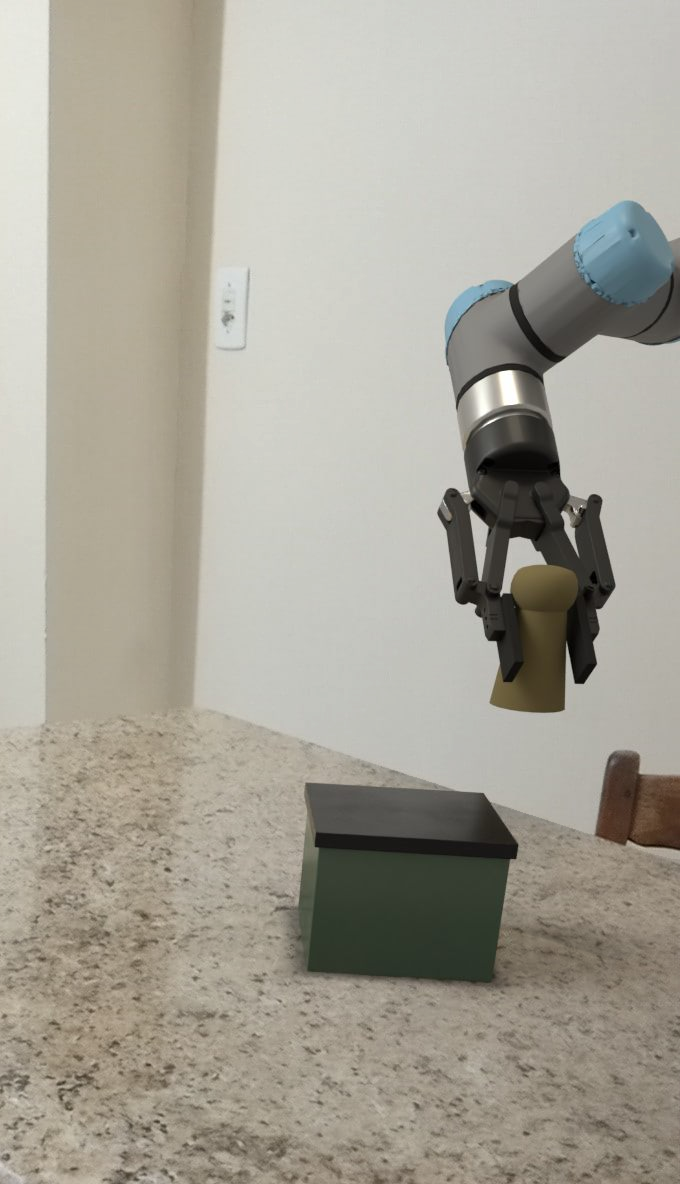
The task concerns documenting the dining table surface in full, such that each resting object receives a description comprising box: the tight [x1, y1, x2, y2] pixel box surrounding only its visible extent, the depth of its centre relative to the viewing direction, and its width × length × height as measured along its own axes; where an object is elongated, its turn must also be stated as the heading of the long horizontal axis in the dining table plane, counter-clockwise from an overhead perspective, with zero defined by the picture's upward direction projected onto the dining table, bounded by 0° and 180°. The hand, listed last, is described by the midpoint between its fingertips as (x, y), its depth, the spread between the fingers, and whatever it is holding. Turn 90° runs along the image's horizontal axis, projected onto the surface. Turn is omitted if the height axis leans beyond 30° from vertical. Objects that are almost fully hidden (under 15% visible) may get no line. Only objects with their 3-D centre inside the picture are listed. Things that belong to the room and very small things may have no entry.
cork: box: [489, 564, 578, 714], centre depth 110 cm, size 6×6×11 cm
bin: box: [297, 782, 520, 983], centre depth 93 cm, size 13×13×10 cm
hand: (549, 672), depth 107 cm, fingers closed on cork, 5 cm apart
